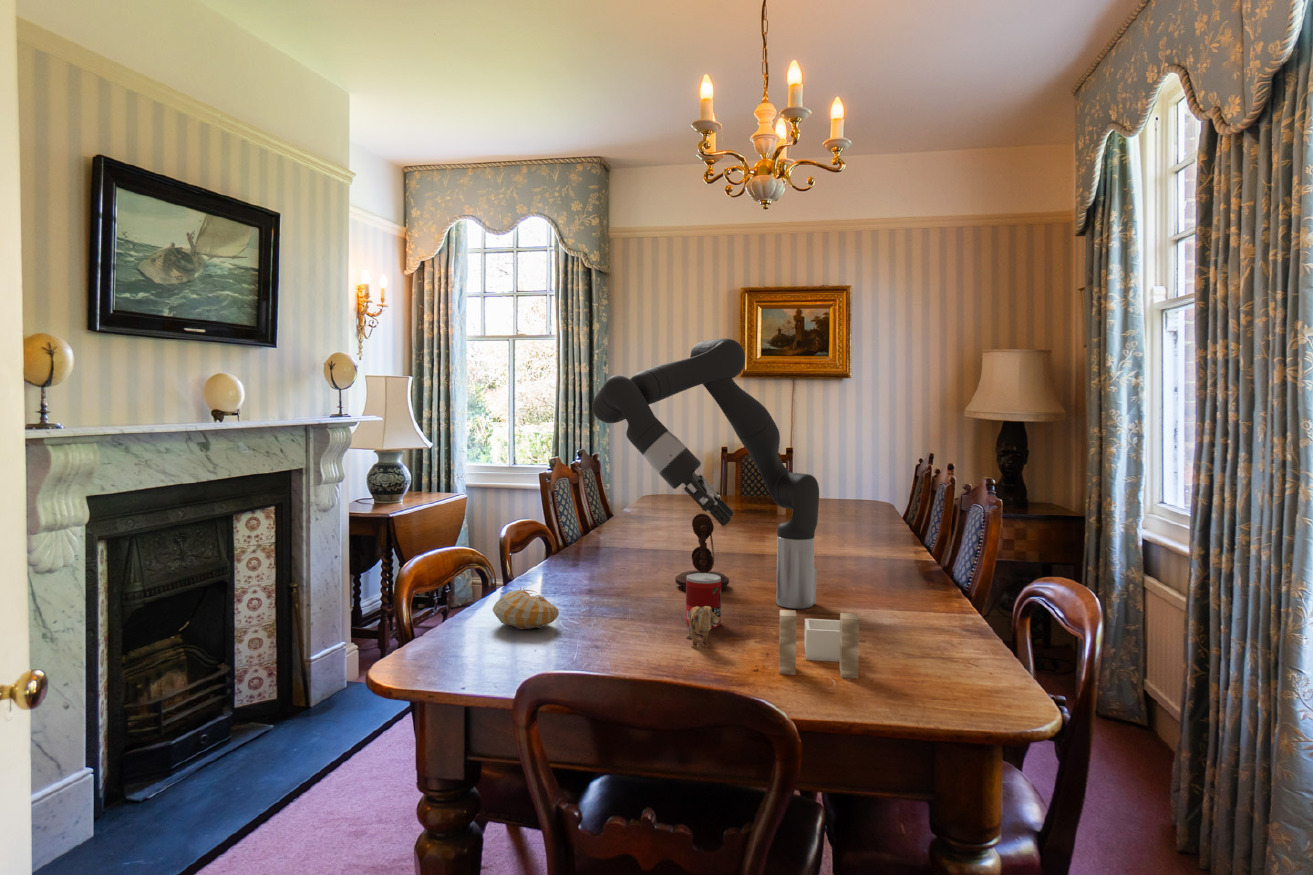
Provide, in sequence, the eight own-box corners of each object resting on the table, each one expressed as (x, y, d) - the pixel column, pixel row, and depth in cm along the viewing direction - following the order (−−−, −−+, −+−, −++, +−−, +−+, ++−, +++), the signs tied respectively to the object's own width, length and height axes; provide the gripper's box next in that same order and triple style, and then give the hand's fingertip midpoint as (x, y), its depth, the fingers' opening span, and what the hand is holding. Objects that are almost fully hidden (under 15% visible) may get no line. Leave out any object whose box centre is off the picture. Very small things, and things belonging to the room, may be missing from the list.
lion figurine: (721, 651, 150) (721, 608, 150) (696, 653, 149) (696, 609, 149) (700, 630, 164) (700, 590, 164) (676, 632, 163) (677, 591, 163)
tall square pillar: (779, 673, 138) (780, 615, 138) (778, 666, 142) (779, 609, 142) (795, 674, 138) (796, 616, 137) (794, 667, 142) (795, 610, 141)
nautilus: (503, 612, 179) (565, 616, 179) (483, 634, 158) (553, 638, 158) (505, 580, 179) (567, 583, 180) (485, 597, 158) (555, 601, 158)
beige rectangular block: (841, 677, 136) (842, 618, 136) (839, 670, 140) (840, 612, 140) (858, 678, 136) (859, 619, 135) (855, 671, 140) (856, 613, 139)
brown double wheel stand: (731, 594, 196) (732, 519, 196) (675, 593, 197) (676, 519, 196) (726, 581, 211) (727, 511, 210) (674, 580, 211) (675, 511, 211)
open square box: (806, 659, 146) (806, 629, 145) (804, 646, 154) (804, 618, 153) (847, 662, 145) (847, 631, 144) (843, 649, 152) (843, 620, 152)
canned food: (718, 630, 165) (719, 581, 164) (683, 627, 166) (683, 579, 166) (722, 620, 172) (723, 573, 172) (688, 618, 174) (689, 572, 173)
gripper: (680, 448, 138) (741, 511, 137) (689, 444, 152) (744, 502, 151) (652, 475, 139) (712, 538, 138) (663, 469, 153) (717, 527, 152)
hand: (729, 519), depth 144 cm, fingers open, 8 cm apart
